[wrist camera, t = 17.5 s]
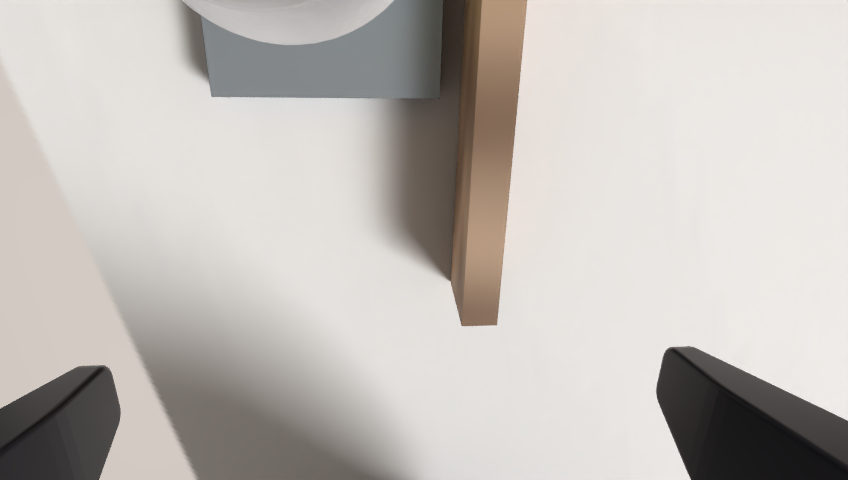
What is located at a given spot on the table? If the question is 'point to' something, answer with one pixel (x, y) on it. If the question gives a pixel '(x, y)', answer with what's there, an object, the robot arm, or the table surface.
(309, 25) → the supplement bottle
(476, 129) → the walnut stall
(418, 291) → the table surface
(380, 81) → the slate mat
